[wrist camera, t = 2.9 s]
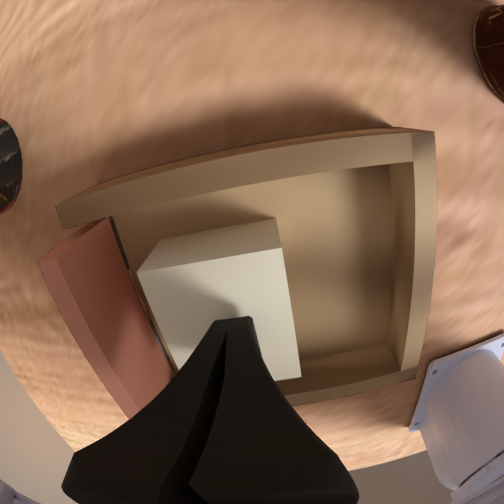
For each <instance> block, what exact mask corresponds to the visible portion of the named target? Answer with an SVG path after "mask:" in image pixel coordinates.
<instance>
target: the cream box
mask: <svg viewBox="0 0 504 504" xmlns="http://www.w3.org/2000/svg"><path fill="white" fill-rule="evenodd" d="M137 275H138V278H139V281H140V283H141V286H142V288H143V291H144V293H145V296H146V298H147V301H148V303H149V305H150V308H151V310H152V313H153V315H154V317H155V320H156V322H157V324H158V326H159V329H160V331H161V333H162V335H163V338H164V340H165V342H166V344H167V346H168V348H169V351H170V353H171V355H172V357H173V359H174V361H175V363H176V365H177V367H178V369H179V370H180V369H181V367H182V366H183V365H184V364H185V362H186V361H187V360H188V358H189V357H190V355H191V354H192V353H193V351H194V350H195V348H196V347H197V345H198V344H199V342H200V341H201V339H202V338H203V336H204V335H205V333H206V332H207V330H208V329H209V327H210V326H211V324H212V323H213V322H214V320H222V319H229V318H237V317H244V316H250V317H252V318H253V322H254V326H255V330H256V334H257V338H258V342H259V346H260V350H261V354H262V358H263V360H264V362H265V364H266V366H267V368H268V370H269V372H270V374H271V376H272V378H273V379H274V381H278V380H285V379H291V378H298V377H301V369H300V362H299V355H298V348H297V341H296V335H295V328H294V321H293V315H292V308H291V302H290V295H289V289H288V283H287V276H286V270H285V264H284V258H283V252H282V246H281V241H280V236H279V231H278V226H277V220H276V218H273V219H268V220H262V221H256V222H251V223H245V224H240V225H234V226H229V227H224V228H218V229H213V230H208V231H202V232H197V233H192V234H187V235H182V236H177V237H172V238H167V239H162V240H160V241H159V242H158V243H157V245H156V246H155V248H154V249H153V250H152V252H151V253H150V254H149V256H148V257H147V259H146V260H145V261H144V263H143V264H142V266H141V267H140V268H139V270H138V271H137Z"/></svg>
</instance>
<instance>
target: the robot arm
mask: <svg viewBox="0 0 504 504" xmlns="http://www.w3.org/2000/svg"><path fill="white" fill-rule="evenodd" d="M503 352H504V333H502V334H500V335H498V336H496V337H493V338H491V339H489V340H486V341H484V342H481V343H479V344H476V345H474V346H471V347H469V348H466V349H464V350H461V351H458V352H455V353H453V354H450V355H447V356H444V357H441V358H438V359H435V360H433V361H432V362H431V363H430V364H429V366H428V370H427V373H426V377H425V380H424V384H423V387H422V390H421V394H420V397H419V400H418V403H417V406H416V409H415V412H414V415H413V418H412V420H411V423H410V426H409V431H410V432H414V431H417V430H420V432H421V435H422V437H423V440H424V443H425V445H426V448H427V451H428V453H429V456H430V459H431V462H432V464H433V467H434V470H435V473H436V476H437V478H438V480H439V481H440V482H441V483H442V484H443V485H444V486H445V487H447V488H449V489H451V490H455V491H454V492H452V493H451V494H450V495H451V498H452V500H453V501H452V502H451V503H450V504H504V365H503V364H502V363H501V361H500V359H501V357H502V355H503ZM61 487H62V490H63V492H64V493H65V494H66V495H67V496H68V497H70V498H71V499H73V500H74V501H75V502H77V503H79V504H357V502H358V499H359V493H358V490H357V487H356V485H355V483H354V481H353V479H352V477H351V476H350V474H349V472H348V471H347V469H346V468H345V466H344V465H343V463H342V462H341V460H340V459H339V457H338V455H337V454H336V453H335V452H334V451H333V450H331V449H330V448H329V447H328V446H327V445H326V444H325V443H324V442H323V441H322V440H321V439H320V438H319V437H318V436H317V435H316V434H315V433H314V432H313V431H312V430H311V429H310V428H309V427H308V426H307V425H306V423H305V422H304V421H303V420H302V419H301V417H300V416H299V415H298V414H297V412H296V411H295V410H294V409H293V407H292V406H291V405H290V404H289V402H288V401H287V399H286V398H285V397H284V395H283V394H282V392H281V391H280V389H279V387H278V386H277V384H276V383H275V381H274V379H273V378H272V376H271V374H270V372H269V370H268V368H267V366H266V364H265V362H264V360H263V358H262V354H261V350H260V346H259V342H258V338H257V334H256V330H255V326H254V322H253V318H252V317H250V316H244V317H237V318H229V319H222V320H214V322H213V323H212V324H211V326H210V327H209V329H208V330H207V332H206V333H205V335H204V336H203V338H202V339H201V341H200V342H199V344H198V345H197V347H196V348H195V350H194V351H193V353H192V354H191V355H190V357H189V358H188V360H187V361H186V362H185V364H184V365H183V366H182V367H181V369H180V370H179V371H178V372H177V374H176V375H175V376H174V377H173V379H172V380H171V381H170V382H169V383H168V384H167V385H166V387H165V388H164V389H163V390H162V391H161V392H160V393H159V394H158V395H157V396H156V397H155V398H154V399H153V400H152V401H151V402H150V403H148V404H147V405H146V406H145V407H144V408H143V409H141V410H140V411H139V412H138V413H137V414H135V415H134V416H133V417H132V418H131V419H129V420H128V421H127V422H125V423H124V424H123V425H121V426H120V427H118V428H117V429H116V430H114V431H112V432H111V433H109V434H108V435H106V436H105V437H103V438H101V439H100V440H98V441H96V442H94V443H92V444H91V445H89V446H87V447H85V448H83V449H81V450H79V451H77V452H75V453H74V455H73V457H72V460H71V462H70V465H69V467H68V470H67V472H66V475H65V478H64V480H63V483H62V486H61ZM0 504H40V503H38V502H36V501H34V500H32V499H30V498H28V497H26V496H24V495H22V494H20V493H18V492H16V491H15V490H14V489H13V488H12V487H10V486H9V485H8V484H6V483H5V482H3V481H2V480H0Z"/></svg>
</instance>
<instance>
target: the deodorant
mask: <svg viewBox="0 0 504 504" xmlns="http://www.w3.org/2000/svg"><path fill="white" fill-rule="evenodd" d="M21 179H22V158H21V150H20V146H19V143H18V139H17V137H16V135H15V133H14V131H13V129H12V128H11V126H10V125H9V124H8V123H7V122H6V121H4V120H2V119H0V214H2V213H3V212H5V211H6V210H8V209H9V208H10V207H11V206H12V205H13V203H14V202H15V200H16V198H17V195H18V193H19V190H20V185H21Z"/></svg>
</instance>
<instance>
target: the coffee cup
mask: <svg viewBox="0 0 504 504" xmlns="http://www.w3.org/2000/svg"><path fill="white" fill-rule="evenodd" d="M473 46H474V51H475V54H476V57H477V59H478V62H479V65H480V67H481V69H482V72H483V74H484V76H485V78H486V80H487V82H488V83H489V85H490V86H491V88H492V89H493V91H494V92H495V93H496V94H497V95H498V96H499V97H500V98H501V99H502V100H503V101H504V5H500V6H499V5H494V6H489V7H487V8H485V9H484V10H483V11H482V12H481V13H480V14H479V15H478V17H477V19H476V20H475V23H474V26H473Z"/></svg>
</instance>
